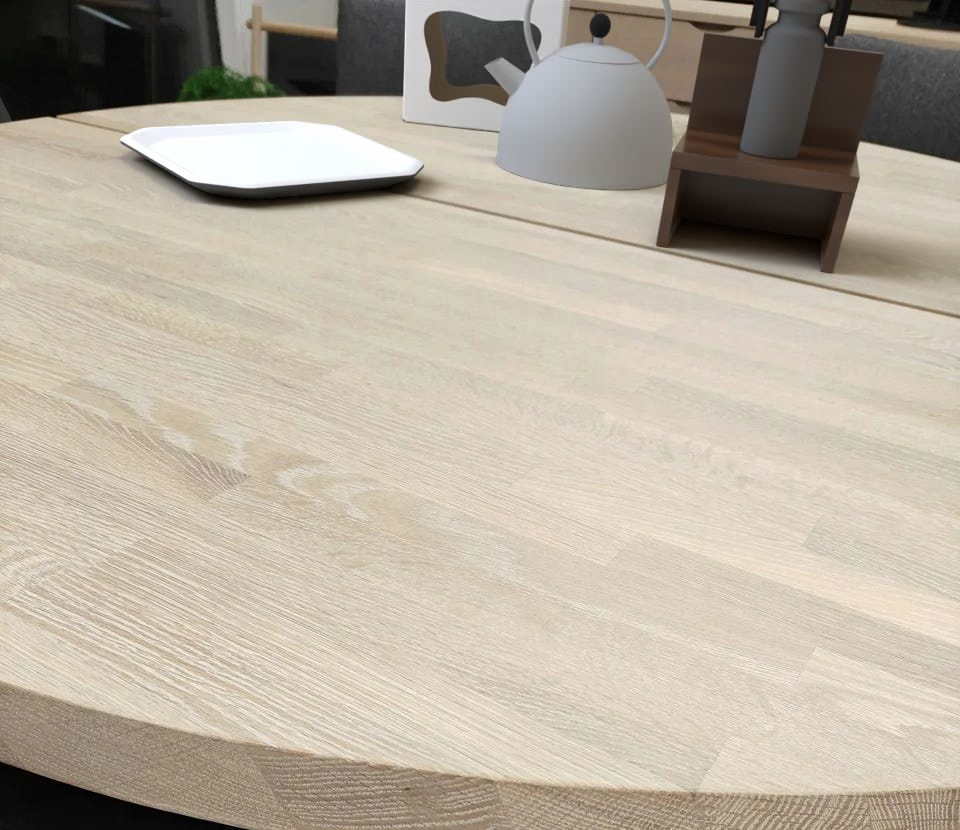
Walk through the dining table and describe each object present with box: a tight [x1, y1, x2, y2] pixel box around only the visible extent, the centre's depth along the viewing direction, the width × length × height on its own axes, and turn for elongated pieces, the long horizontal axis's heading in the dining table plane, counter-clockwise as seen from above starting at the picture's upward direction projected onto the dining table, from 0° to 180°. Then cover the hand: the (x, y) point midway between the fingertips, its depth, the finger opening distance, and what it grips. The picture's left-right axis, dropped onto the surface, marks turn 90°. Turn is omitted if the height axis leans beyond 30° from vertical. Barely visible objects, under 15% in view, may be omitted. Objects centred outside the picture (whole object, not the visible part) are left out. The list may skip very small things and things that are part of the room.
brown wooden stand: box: [655, 31, 885, 274], centre depth 102 cm, size 14×18×18 cm
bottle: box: [740, 0, 832, 159], centre depth 96 cm, size 6×6×15 cm
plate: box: [119, 120, 425, 200], centre depth 116 cm, size 29×29×2 cm
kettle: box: [484, 0, 674, 191], centre depth 123 cm, size 25×23×22 cm
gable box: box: [402, 0, 571, 133], centre depth 141 cm, size 22×13×28 cm, turn 82°
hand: (794, 38), depth 95 cm, fingers open, 6 cm apart
